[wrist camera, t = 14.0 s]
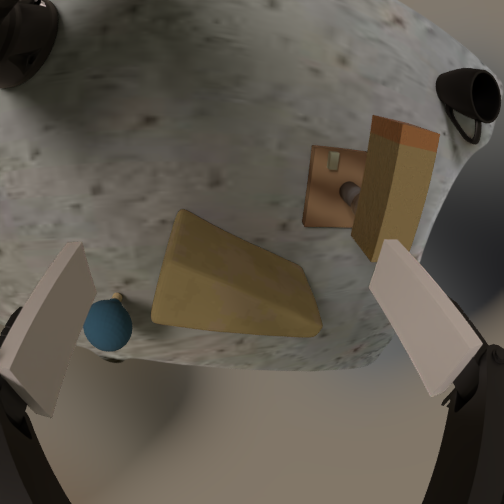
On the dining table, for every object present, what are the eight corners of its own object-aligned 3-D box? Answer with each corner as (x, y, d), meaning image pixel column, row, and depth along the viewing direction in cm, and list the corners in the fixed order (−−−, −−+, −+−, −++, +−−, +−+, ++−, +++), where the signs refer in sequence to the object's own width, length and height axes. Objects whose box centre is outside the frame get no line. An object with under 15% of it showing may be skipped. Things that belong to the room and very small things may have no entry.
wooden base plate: (312, 145, 37) (326, 155, 32) (384, 154, 39) (405, 165, 34) (302, 222, 44) (313, 241, 39) (369, 223, 45) (386, 242, 40)
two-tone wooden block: (373, 225, 38) (406, 260, 30) (342, 224, 37) (371, 262, 29) (394, 119, 30) (440, 134, 22) (360, 112, 29) (402, 123, 22)
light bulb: (143, 283, 47) (129, 335, 37) (137, 316, 51) (125, 367, 40) (98, 270, 44) (75, 319, 34) (96, 304, 48) (78, 352, 38)
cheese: (313, 246, 46) (346, 309, 34) (287, 291, 51) (308, 357, 38) (179, 203, 40) (163, 262, 28) (163, 258, 45) (147, 326, 32)
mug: (422, 124, 36) (461, 138, 28) (432, 58, 30) (473, 60, 22) (454, 137, 37) (492, 153, 29) (464, 76, 31) (503, 83, 23)
